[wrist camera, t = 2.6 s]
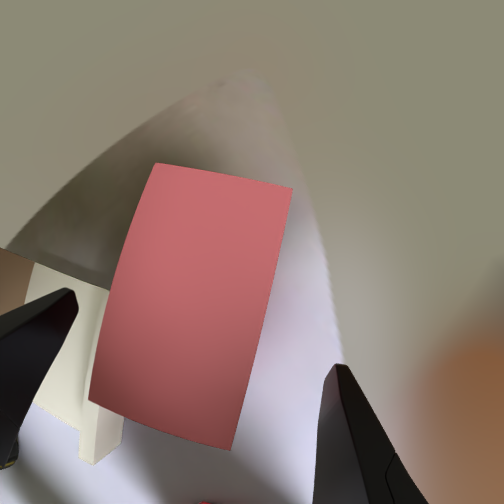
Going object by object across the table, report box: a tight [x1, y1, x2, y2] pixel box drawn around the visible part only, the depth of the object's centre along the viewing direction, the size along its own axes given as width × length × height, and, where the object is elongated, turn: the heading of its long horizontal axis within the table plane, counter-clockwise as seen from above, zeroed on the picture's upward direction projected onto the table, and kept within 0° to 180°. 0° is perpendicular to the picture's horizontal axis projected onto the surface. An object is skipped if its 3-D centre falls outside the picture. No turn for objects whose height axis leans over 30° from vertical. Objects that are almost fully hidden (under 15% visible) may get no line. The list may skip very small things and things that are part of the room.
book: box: [88, 163, 293, 451], centre depth 12 cm, size 7×4×10 cm, turn 167°
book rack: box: [0, 248, 125, 466], centre depth 11 cm, size 10×10×9 cm
